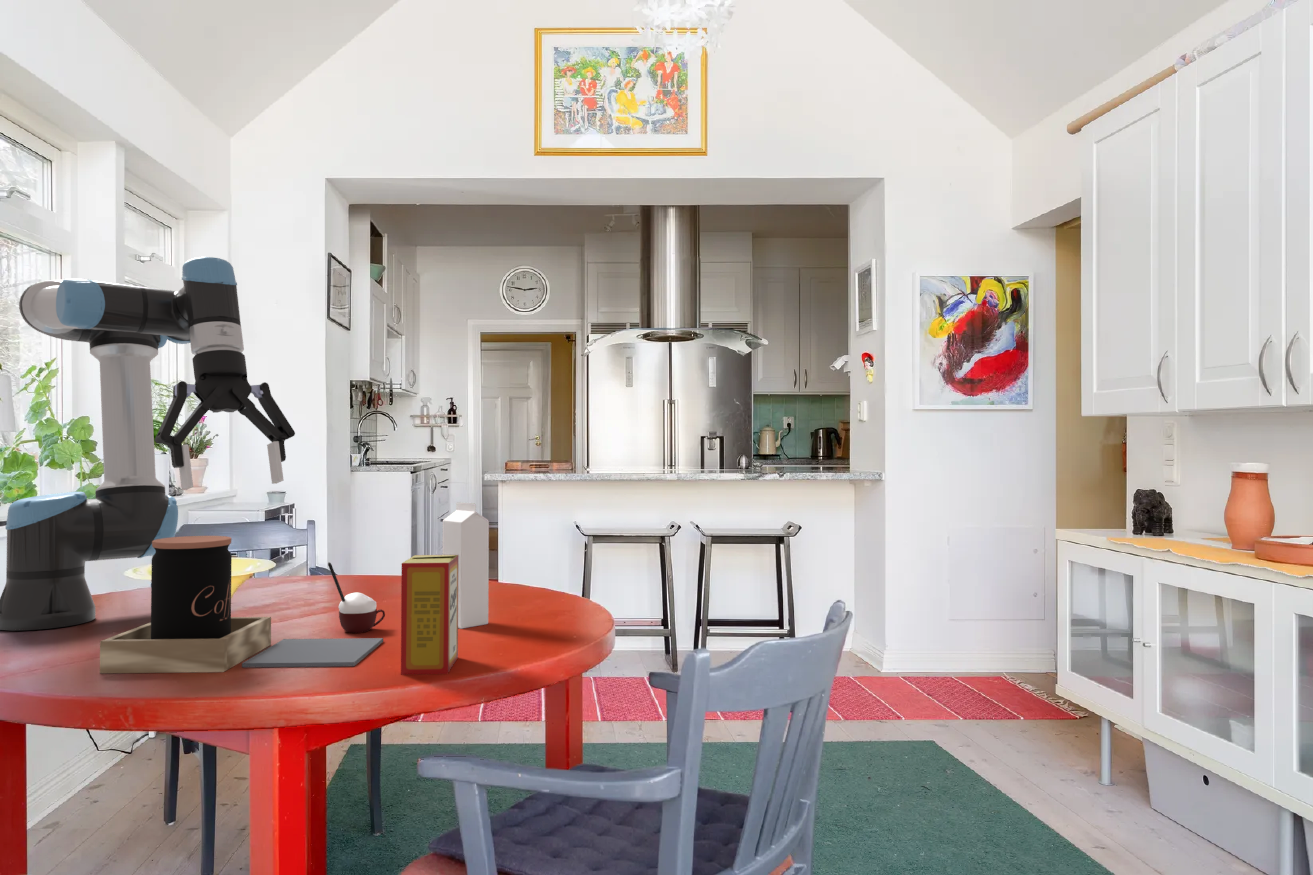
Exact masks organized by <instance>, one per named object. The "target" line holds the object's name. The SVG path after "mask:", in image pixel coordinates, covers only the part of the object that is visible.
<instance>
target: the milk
mask: <svg viewBox="0 0 1313 875" xmlns="http://www.w3.org/2000/svg"><path fill="white" fill-rule="evenodd" d="M455 504H456V505H455V511H453V512H452V513H451V514H449V515H448V516H446V517H445V518H443V520H442V555H459V557H458V629H467V628H473V627H477V626H483V625H484V626H485V625H488V624H489V573H490V572H489V567H490V566H489V562H490V560H489V557H490V556H489V555H490V553H489V552H490V548H489V546H490V545H489V544H490V543H489V542H490V534H489V532H490V526H489V525H490V521H489V519H488V518H486V517H485V516H483V515H482V514H480V513H479V512H478V511H477V509H476V508H477V505H476V503H473V502H461V501H457V502H456V503H455Z"/></svg>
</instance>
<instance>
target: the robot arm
mask: <svg viewBox="0 0 1313 875" xmlns="http://www.w3.org/2000/svg"><path fill="white" fill-rule="evenodd" d="M181 270H182V272H181V273H182V275H181V276H182V277H181V280H182V282H183V287H182V288H180V289H179V290H171V289H163V288H157V287H156V288H155V287H153V288H152V287H146V286H139V285H138V286H135V285H130V284H129V285H128V284H121V283H116V282H115V283H112V282H106V281H98V280H94V279H89V278H88V279H85V278H64V279H52V280H44V281H38V282H35V283H33V284H31V285H30V286H28V287H27V288H26V289H25V290H24V291H23V292H22V294H21V295H20V298H19V302H18V308H19V309H18V310H19V314H20V315H21V317H22V319H23V320H24V322H25V323H26V324H27V325H28V326H29V327H30V328H32V329H34V330H35V331H37V332H38V333H41V334H44V335H46V336H48V337H52V338H54V339H61V340H63V341H71V342H81V343H89V354H90V355H91V356H93V357H94V358H95V359H96V360H97V361H98V362H99V378H100V379H99V380H100V401H101V402H100V403H101V427H102V428H101V430H102V431H101V433H102V453H103V454H102V457H103V480H104V481H103V482H102V483H101V484H100V485H99V486H98V487H97V488H96V489H95V492H94V493H95V494H94V495H95V498H88V496H87V494H86V493H85V491H69V492H59V493H50V494H43V495H35V496H30V497H24V498H20V499H18V500H15V501H13V502H12V503H10V505H9V507H8V510H7V517H6V525H5V530H6V579H5V580H6V581H5V586H4V587H3V590H2V592H1V595H0V631H13V632H14V631H36V630H38V631H39V630H49V629H57V628H65V627H71V626H75V625H80V624H85V623H88V622H91V621H93V620H95V619H96V610H97V609H96V605H95V601H94V599H93V597H92V593H91V590H90V589H89V586H88V583H87V581H86V576H85V575H86V574H85V573H86V572H85V568H86V567H85V566H86V562H93V561H95V562H97V561H106V560H107V561H108V560H119V559H120V560H121V559H135V558H137V559H142V558H146V557H152V556H153V555H154V554H155V553H156V550H155V549H154V548H153V546H152V541H153V540H156V539H162V538H170V537H176V533H177V528H178V522H179V507H178V505H177V503H178V502H177V500H176V498H175V497H174V496H172V495H168V494H166V486H165V484H163V483H162V482H161V481H159V480H158V479H157V477H156V458H155V456H156V455H155V443H156V444H157V445H158V444H159V445H160V444H161V445H166V447H167V448H168V449H170V458H171V466H172V467H173V469H179V478H180V487H181V489H180V490H181V491H187V490H190V489H192V488H193V487H194V481H193V480H194V479H193V474H192V473H193V472H192V464H191V463H192V462H191V455H190V449H189V448H190V446H189V444H183V442H184V441H185V440H186V439H187V437H188V436H189V435H190V433H191V432H192V431H193V429H195V427H196V426H197V425H198V424H199V422H200V421H201V420H202V418H203V417H204V416H205V415H206V413H208V411H210V412H212V413H221V412H226V413H234V412H236V411H237V412H238V413H239V414H240V415H242V416H244V417H246V419H248V421H250V422H251V424H253V425H254V426H255V427H256V428H257V429H258V431H260V432H261V433H262V434H263V435H264V436H265V437H266V438H267V439H268V440H269V441H270V442H269V443H268V444H266V446H267V455H268V461H269V462H268V463H269V472H270V480H271V484H273V485H275V484H279V483H281V482H283V481H284V473H283V465H282V463H283V462H285V461H286V458H287V456H286V449H285V448H286V446H285V441H286V440H289V439H291V438H293V437H295V435H296V432H295V430H294V429H293V427H292V425H291V424H290V422H289V421H288V419H287V418H286V416H285V414H284V413H283V412H282V410H281V409H280V407H279V405H278V404H277V402H276V400H275V399H274V397H273V395H272V394H271V388H270V385H269V383H268V382H262V383H261V384H252V385H251V384H250V382H249V381H248V369H247V363H246V356H245V354H243V352H244V350H245V348H244V339H243V330H242V325H241V315H240V305H239V296H238V287H237V286H238V282H237V280H236V277H235V271H234V267H233V264H232V263H230V262H229V261H227V260H225V259H224V258H221V257H220V258H219V257H213V256H201V257H200V256H199V257H194V258H191V259H188V260H187V261H185V262H184V263H183V264H182V268H181ZM167 341H170V342H172V343H175V344H179V345H187V344H190V352H191V353H192V355H194V356H193V357H192V359H191V360H192V367H193V376H194V377H193V378H194V381H195V382H194V384H190V383H187V382H186V381H185V380H180V381H179V382H178V383H176V384H174V386H173V388H172V400H171V403H170V405H169V406H168V409H167V411H166V413H165V416H164V418H163V420H162V423H161V425H160V427H159V429H158V431H157V434H156V436H155V438H154V420H153V419H154V418H153V417H154V415H153V414H154V413H153V399H152V398H153V397H152V395H153V393H152V377H151V376H152V375H151V362H152V361H153V359H155V358H156V357H157V356H158V355H159V349H161V348H163V347H165V345H166V344H167ZM192 393H193V394H194V395H195V397H196V398H197V399H198V400H199V401H200V402H199V403H198V405H197V406H196V407H195V408H194V409H193V411H192V412H191V414H190V415H189V417H188V418H187V419H186V420H185V421H184V423H182V425H181V427H180V428H179V429H178V430H177V431H176V433H174V435H171V434H172V433H173V430H174V427H175V425H176V423H177V421H178V418H179V416H180V414H181V412H182V409H183V407H184V404H185V403H186V400H187V398H189V397H190V396H191V395H192ZM251 394H252V395H253V396H254V397H255V398H256V399H257V400H258V403H259V404H260V406H261V408H262V409H263V410H264V412H265V414H266V415H267V417H268V418H269V419H268V418H267V417H266V415H264V414H263V413H262V411H260V410H259V409H258V408H257V407H256V404H255V403H254V402H253V401H252V400H251V399H250V398H249V397H250V395H251Z"/></svg>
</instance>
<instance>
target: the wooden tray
mask: <svg viewBox="0 0 1313 875" xmlns="http://www.w3.org/2000/svg"><path fill="white" fill-rule="evenodd" d="M269 646H270V647H271V646H272V616H231V634H228V635H226V636H224V637H222V638H220V639H151V621H150V622H148V623H146V624H142V625H140V626H138V627H137V626H136V627H134V628H131V629H129V630H126V631H124V632H121V633H118V634H115V635H113V636H111V637H108V638H105V639H102V640H100V641H99V674H145V673H146V674H149V673H151V674H152V673H153V674H156V673H157V674H160V673H163V674H164V673H170V674H171V673H224V672H227V670H230V669H231V668H234V666H237V665H238V664H240V663H243V662H245V661H246V660H248V658H249V659H250V658H251V657H253V656H255V655H257V654H258V653H260V652H262V650H263V651H264V650H265V649H267V648H269Z"/></svg>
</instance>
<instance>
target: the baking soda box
mask: <svg viewBox="0 0 1313 875" xmlns="http://www.w3.org/2000/svg"><path fill="white" fill-rule="evenodd" d="M458 557H459V555H443V554H415V555H413V556H411V557H410V558H408V559H406V560H405V561H403V562H402V563H401V580H400V581H401V586H400V587H401V592H400V593H401V596H400V597H401V599H400V600H401V602H400V606H401V607H400V612H401V613H400V615H401V616H400V620H401V621H400V623H401V624H400V626H401V627H400V635H401V636H400V675H402V676H403V675H404V676H405V675H445V674H446V675H447V673H448V672H450V671H451V670H450V669H452V668H453V666H454V665H455V663H456V662H457V660H458V658H459V628H458ZM456 659H457V660H456ZM453 664H454V665H453ZM451 667H452V668H451ZM448 674H449V673H448Z"/></svg>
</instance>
